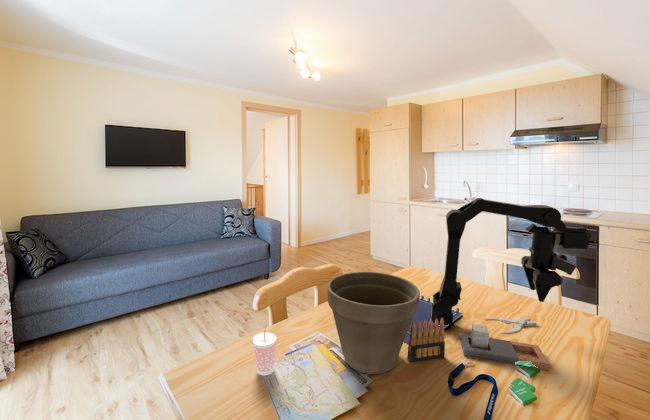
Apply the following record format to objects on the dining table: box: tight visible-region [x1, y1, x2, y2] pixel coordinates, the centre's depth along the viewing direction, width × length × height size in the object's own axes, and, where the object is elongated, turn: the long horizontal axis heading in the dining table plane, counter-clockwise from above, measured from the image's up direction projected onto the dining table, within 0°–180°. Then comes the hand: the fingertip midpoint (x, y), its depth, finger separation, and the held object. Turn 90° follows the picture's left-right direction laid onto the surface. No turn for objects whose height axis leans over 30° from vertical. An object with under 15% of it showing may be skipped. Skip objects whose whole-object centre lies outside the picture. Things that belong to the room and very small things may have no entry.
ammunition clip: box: [406, 318, 446, 364], centre depth 88 cm, size 11×2×12 cm, turn 102°
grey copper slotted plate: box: [460, 333, 550, 371], centre depth 91 cm, size 21×9×2 cm, turn 73°
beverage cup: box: [252, 320, 277, 376], centre depth 82 cm, size 6×6×14 cm
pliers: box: [484, 317, 538, 334], centre depth 107 cm, size 10×2×15 cm
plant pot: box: [326, 271, 421, 375], centre depth 87 cm, size 25×25×22 cm
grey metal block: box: [470, 323, 490, 350], centre depth 92 cm, size 4×4×7 cm
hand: (536, 295), depth 97 cm, fingers open, 9 cm apart
